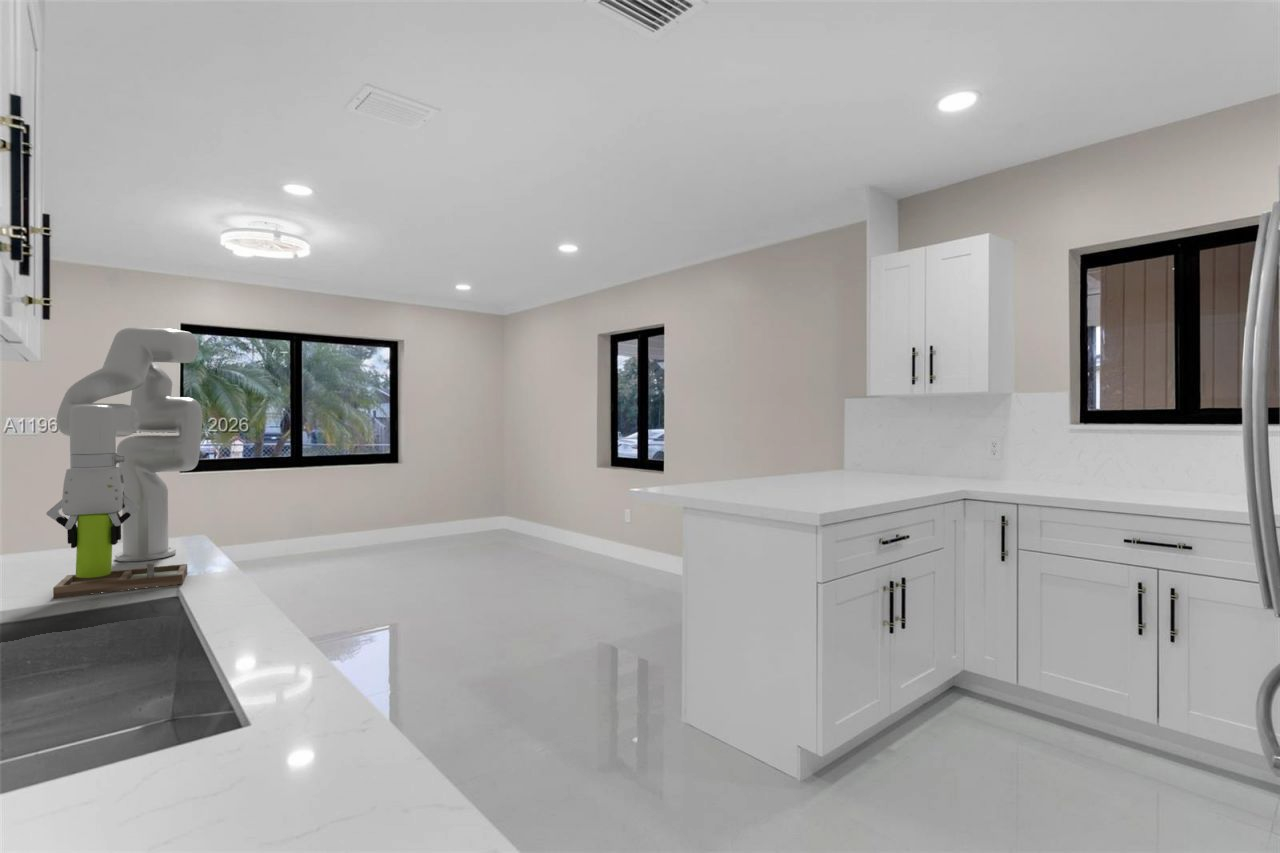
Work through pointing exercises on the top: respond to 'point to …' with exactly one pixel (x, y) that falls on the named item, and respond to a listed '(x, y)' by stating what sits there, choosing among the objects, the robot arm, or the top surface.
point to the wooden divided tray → (122, 580)
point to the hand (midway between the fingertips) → (95, 544)
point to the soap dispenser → (94, 545)
